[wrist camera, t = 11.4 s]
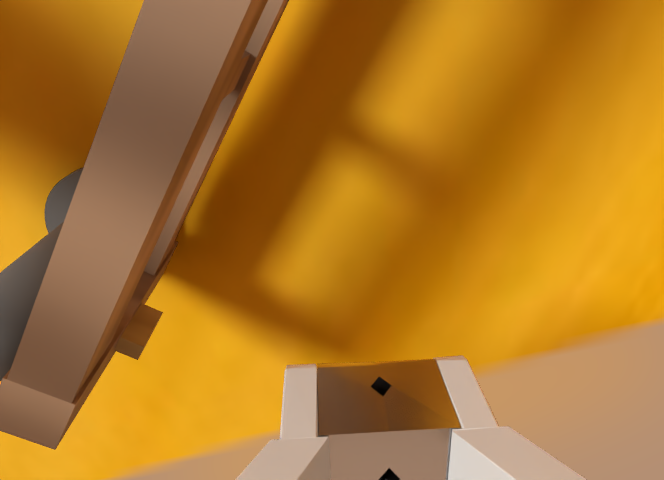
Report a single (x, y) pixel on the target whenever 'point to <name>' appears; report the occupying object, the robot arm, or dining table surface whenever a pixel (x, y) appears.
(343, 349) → the dining table surface
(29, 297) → the post
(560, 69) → the dining table surface
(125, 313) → the gate
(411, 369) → the robot arm
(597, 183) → the dining table surface
